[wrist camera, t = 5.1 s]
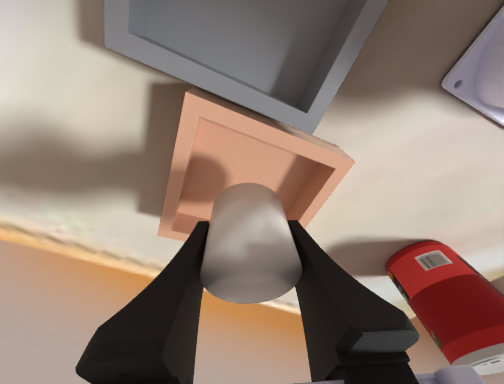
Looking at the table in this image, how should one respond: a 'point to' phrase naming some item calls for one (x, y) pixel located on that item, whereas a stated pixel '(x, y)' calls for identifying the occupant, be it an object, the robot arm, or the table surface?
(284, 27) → the bin
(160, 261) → the table surface
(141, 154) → the table surface
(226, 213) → the white rounded cylinder
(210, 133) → the dump bin
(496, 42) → the robot arm
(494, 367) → the canned food
